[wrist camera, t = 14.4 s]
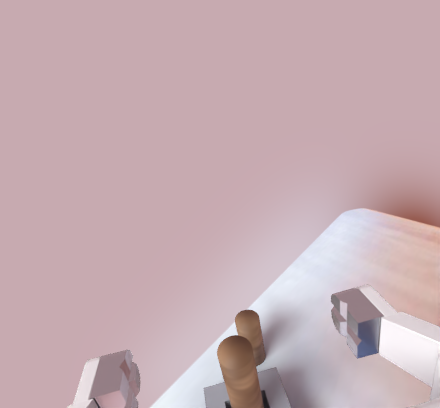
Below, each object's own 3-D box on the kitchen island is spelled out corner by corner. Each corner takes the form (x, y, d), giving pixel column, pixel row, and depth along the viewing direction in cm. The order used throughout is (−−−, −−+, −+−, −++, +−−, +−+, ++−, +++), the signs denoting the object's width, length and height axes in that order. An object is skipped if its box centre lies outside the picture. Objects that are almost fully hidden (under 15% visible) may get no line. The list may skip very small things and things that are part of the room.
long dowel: (264, 419, 37) (247, 331, 30) (274, 451, 34) (256, 361, 27) (238, 427, 37) (214, 340, 30) (244, 461, 33) (220, 371, 27)
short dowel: (261, 343, 47) (255, 307, 44) (268, 362, 44) (262, 325, 41) (240, 349, 47) (232, 313, 44) (245, 368, 44) (238, 331, 40)
